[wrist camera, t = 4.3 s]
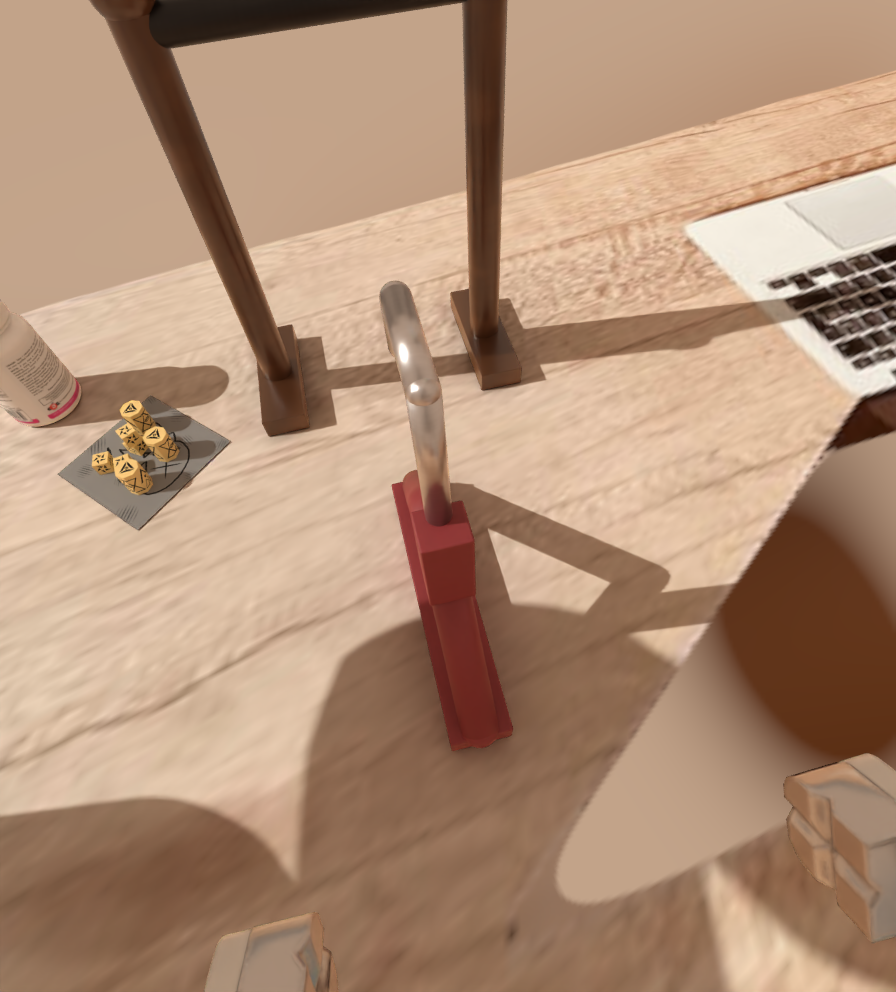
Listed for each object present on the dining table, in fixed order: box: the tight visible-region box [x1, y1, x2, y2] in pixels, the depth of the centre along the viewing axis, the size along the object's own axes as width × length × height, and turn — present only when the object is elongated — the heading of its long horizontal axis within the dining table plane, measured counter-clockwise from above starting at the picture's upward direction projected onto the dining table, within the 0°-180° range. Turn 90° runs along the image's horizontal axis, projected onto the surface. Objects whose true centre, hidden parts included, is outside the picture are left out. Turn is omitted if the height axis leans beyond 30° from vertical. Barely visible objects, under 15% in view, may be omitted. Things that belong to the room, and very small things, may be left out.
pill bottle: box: [0, 300, 81, 427], centre depth 38 cm, size 5×5×8 cm
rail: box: [89, 0, 521, 436], centre depth 32 cm, size 18×9×24 cm, turn 103°
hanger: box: [379, 281, 513, 751], centre depth 24 cm, size 16×3×19 cm, turn 14°
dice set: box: [91, 400, 180, 495], centre depth 38 cm, size 5×5×2 cm
